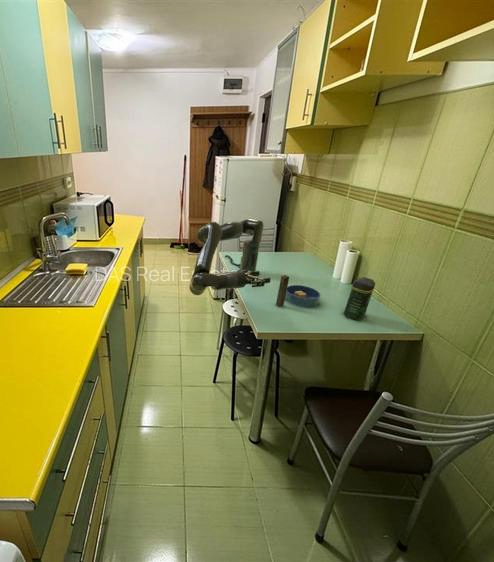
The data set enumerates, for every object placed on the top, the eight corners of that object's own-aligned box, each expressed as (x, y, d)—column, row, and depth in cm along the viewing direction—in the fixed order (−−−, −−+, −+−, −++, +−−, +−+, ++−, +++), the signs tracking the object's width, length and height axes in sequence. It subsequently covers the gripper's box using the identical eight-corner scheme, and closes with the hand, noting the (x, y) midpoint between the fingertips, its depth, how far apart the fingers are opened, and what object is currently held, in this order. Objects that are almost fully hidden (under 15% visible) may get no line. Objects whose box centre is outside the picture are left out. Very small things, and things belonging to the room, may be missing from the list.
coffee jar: (359, 322, 136) (371, 285, 129) (341, 315, 141) (351, 279, 134) (367, 315, 142) (378, 279, 135) (348, 309, 147) (359, 274, 140)
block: (293, 298, 156) (294, 291, 154) (299, 297, 157) (301, 290, 155) (298, 302, 152) (300, 295, 151) (305, 301, 153) (306, 294, 152)
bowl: (277, 295, 160) (279, 287, 158) (302, 291, 164) (304, 283, 162) (298, 310, 146) (300, 300, 144) (325, 305, 150) (327, 296, 148)
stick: (275, 305, 150) (281, 275, 143) (280, 304, 151) (285, 274, 144) (279, 307, 148) (284, 277, 141) (283, 306, 148) (289, 276, 142)
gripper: (242, 278, 126) (275, 274, 131) (226, 266, 139) (256, 263, 143) (240, 294, 129) (272, 290, 134) (224, 281, 142) (254, 278, 146)
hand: (264, 276), depth 139 cm, fingers open, 8 cm apart
